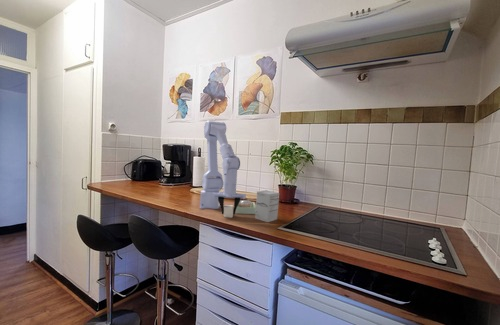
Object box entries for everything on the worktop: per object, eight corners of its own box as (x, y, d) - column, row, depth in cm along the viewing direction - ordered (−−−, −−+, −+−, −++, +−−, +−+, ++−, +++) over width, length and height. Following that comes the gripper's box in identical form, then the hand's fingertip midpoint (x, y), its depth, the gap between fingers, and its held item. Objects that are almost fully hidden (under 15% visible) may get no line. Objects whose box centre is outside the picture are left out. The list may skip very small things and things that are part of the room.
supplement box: (254, 219, 104) (256, 191, 104) (265, 216, 110) (266, 189, 109) (267, 223, 99) (269, 194, 99) (277, 220, 105) (279, 192, 104)
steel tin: (239, 211, 115) (239, 202, 114) (239, 208, 120) (239, 199, 120) (250, 211, 115) (251, 202, 115) (250, 208, 121) (250, 200, 120)
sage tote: (234, 214, 110) (235, 206, 110) (234, 207, 122) (235, 201, 122) (255, 215, 111) (256, 207, 111) (253, 208, 123) (254, 202, 123)
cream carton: (223, 218, 103) (224, 207, 103) (223, 215, 107) (224, 205, 107) (232, 218, 103) (233, 207, 103) (232, 216, 107) (233, 205, 107)
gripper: (212, 184, 100) (211, 215, 101) (246, 186, 101) (244, 217, 102) (214, 182, 107) (212, 211, 108) (245, 183, 108) (244, 212, 109)
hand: (228, 213), depth 105 cm, fingers open, 4 cm apart
